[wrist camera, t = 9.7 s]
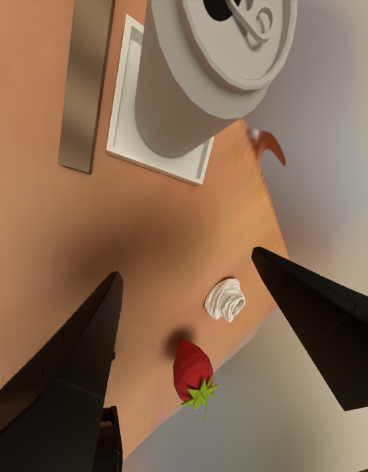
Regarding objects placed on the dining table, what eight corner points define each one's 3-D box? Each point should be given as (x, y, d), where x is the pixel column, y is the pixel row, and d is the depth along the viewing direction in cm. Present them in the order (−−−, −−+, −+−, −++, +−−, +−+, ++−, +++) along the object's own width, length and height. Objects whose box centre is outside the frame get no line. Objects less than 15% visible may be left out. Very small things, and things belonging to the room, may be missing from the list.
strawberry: (166, 364, 26) (189, 451, 17) (161, 332, 24) (184, 413, 15) (196, 349, 28) (230, 420, 19) (194, 319, 26) (231, 383, 17)
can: (154, 62, 15) (238, -298, 4) (207, 118, 18) (331, 4, 7) (120, 129, 15) (116, -39, 4) (179, 172, 18) (259, 138, 8)
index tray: (196, 185, 20) (202, 184, 19) (107, 154, 15) (106, 149, 14) (218, 97, 18) (226, 89, 17) (126, 32, 14) (126, 13, 12)
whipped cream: (220, 268, 27) (238, 279, 22) (242, 283, 29) (263, 295, 25) (197, 306, 26) (211, 325, 22) (222, 318, 29) (239, 337, 24)
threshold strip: (91, 174, 15) (88, 172, 14) (62, 166, 14) (57, 163, 13) (116, -11, 13) (116, -30, 12) (84, -37, 12) (80, -60, 11)
